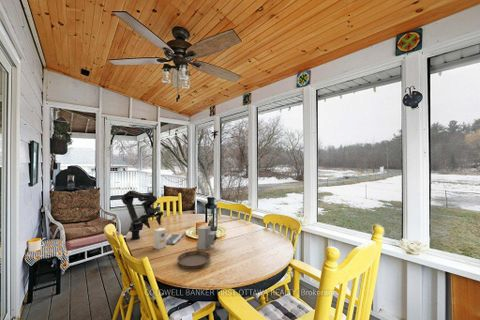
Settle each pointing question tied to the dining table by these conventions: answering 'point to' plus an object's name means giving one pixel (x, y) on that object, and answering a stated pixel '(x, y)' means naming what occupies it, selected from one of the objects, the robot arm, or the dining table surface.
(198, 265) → the plant saucer
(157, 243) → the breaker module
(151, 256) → the dining table surface
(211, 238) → the circuit breaker
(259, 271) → the dining table surface
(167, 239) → the rail plate
